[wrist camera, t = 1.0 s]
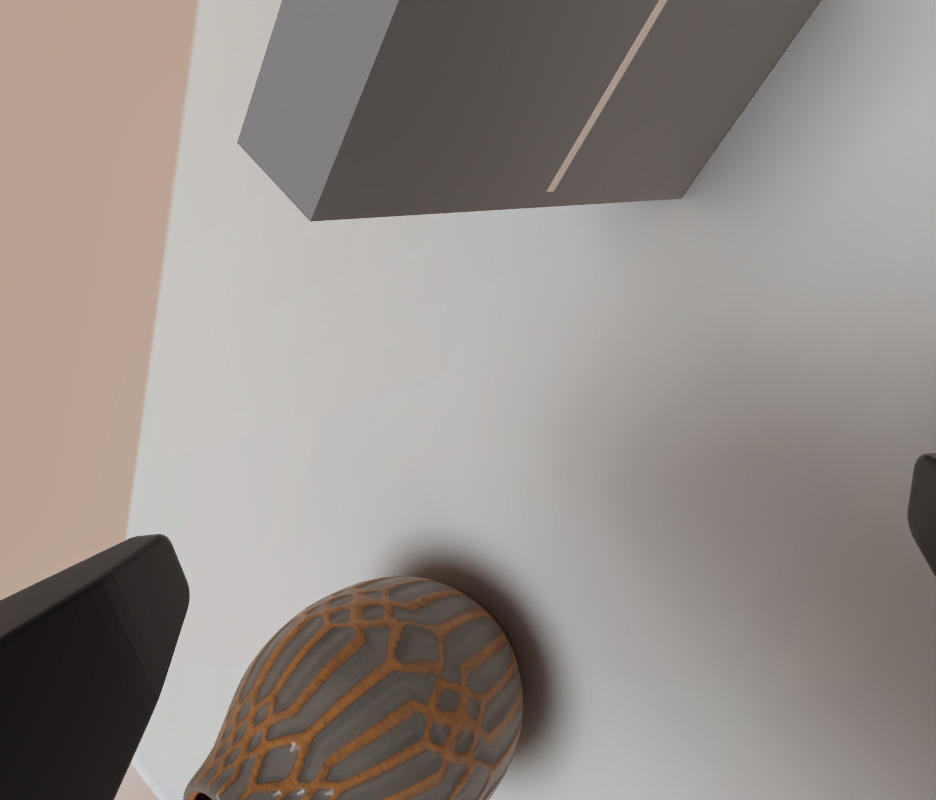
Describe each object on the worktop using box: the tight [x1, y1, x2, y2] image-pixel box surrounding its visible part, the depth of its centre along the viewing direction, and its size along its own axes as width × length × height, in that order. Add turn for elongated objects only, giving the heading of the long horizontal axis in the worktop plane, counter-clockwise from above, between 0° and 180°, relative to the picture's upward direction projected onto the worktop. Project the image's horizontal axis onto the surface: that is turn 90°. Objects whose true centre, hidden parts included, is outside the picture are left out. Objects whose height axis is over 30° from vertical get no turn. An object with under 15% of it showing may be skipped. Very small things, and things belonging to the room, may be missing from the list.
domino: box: [237, 0, 820, 221], centre depth 12 cm, size 2×5×10 cm, turn 146°
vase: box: [183, 576, 523, 800], centre depth 21 cm, size 7×7×9 cm
